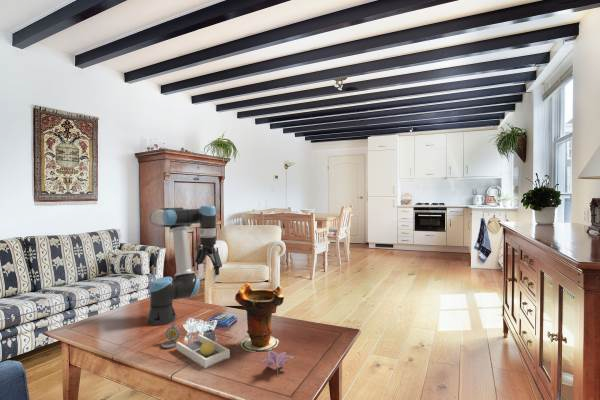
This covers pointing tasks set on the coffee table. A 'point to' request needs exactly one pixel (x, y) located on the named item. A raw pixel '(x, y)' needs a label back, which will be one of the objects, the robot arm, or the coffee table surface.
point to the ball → (207, 348)
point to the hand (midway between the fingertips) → (208, 279)
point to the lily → (276, 359)
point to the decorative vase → (259, 316)
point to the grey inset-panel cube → (209, 334)
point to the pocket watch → (170, 332)
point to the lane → (205, 361)
